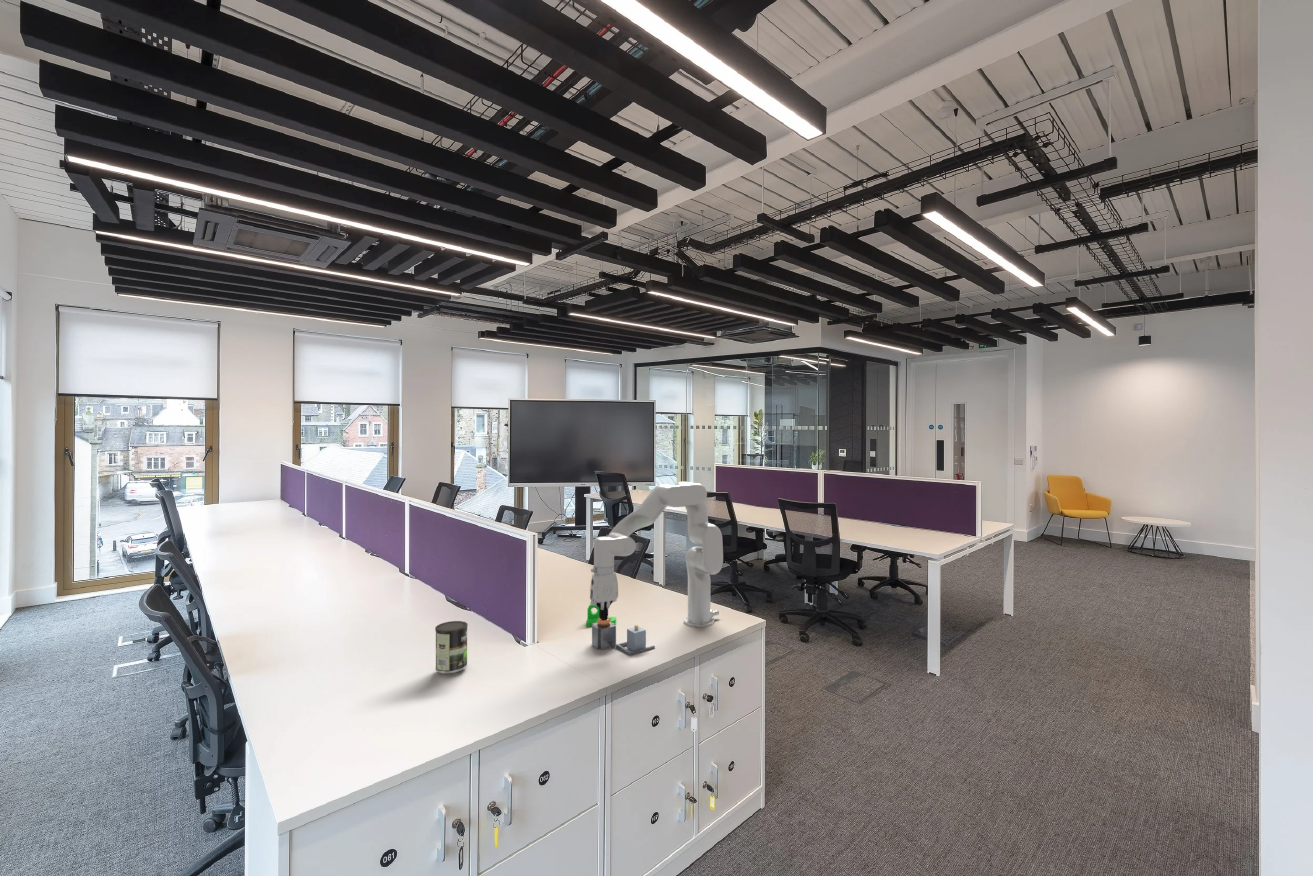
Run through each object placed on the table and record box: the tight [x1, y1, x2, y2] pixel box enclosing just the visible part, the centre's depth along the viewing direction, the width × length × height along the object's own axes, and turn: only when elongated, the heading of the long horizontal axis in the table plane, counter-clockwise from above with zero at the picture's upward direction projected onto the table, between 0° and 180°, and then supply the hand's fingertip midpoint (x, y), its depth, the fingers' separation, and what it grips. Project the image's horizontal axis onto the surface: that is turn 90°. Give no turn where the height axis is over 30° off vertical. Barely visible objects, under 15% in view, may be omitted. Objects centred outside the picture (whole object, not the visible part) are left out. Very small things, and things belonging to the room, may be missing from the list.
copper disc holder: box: [591, 622, 617, 651], centre depth 202 cm, size 8×8×8 cm
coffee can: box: [434, 620, 469, 674], centre depth 183 cm, size 10×10×14 cm
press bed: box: [611, 641, 656, 657], centre depth 199 cm, size 13×12×2 cm
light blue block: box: [626, 624, 647, 651], centre depth 199 cm, size 5×5×8 cm
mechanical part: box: [585, 604, 617, 627], centre depth 227 cm, size 12×6×8 cm, turn 90°
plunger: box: [598, 616, 610, 627], centre depth 202 cm, size 5×5×8 cm
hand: (603, 618), depth 202 cm, fingers closed
